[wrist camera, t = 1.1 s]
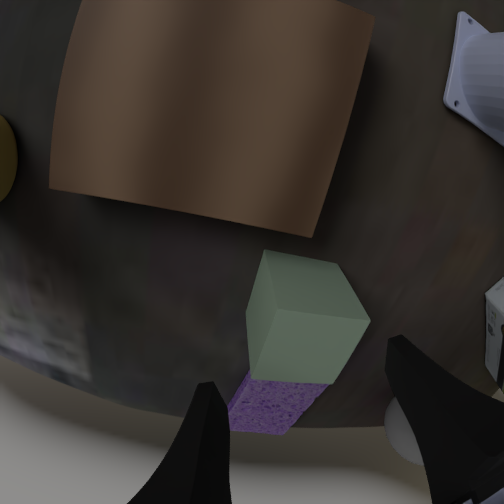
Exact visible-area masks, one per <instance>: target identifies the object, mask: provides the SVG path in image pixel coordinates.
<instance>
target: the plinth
mask: <svg viewBox="0 0 504 504" xmlns="http://www.w3.org/2000/svg"><path fill="white" fill-rule="evenodd" d="M374 22H375V17H374V16H372V15H370V14H368V13H366V12H363V11H361V10H359V9H356V8H354V7H352V6H349V5H347V4H344V3H342V2H339V1H336V0H82V3H81V6H80V8H79V11H78V14H77V18H76V21H75V24H74V27H73V31H72V34H71V38H70V41H69V45H68V49H67V53H66V57H65V61H64V65H63V70H62V75H61V80H60V85H59V90H58V96H57V102H56V109H55V116H54V124H53V132H52V143H51V155H50V172H49V189H55V190H61V191H67V192H74V193H80V194H86V195H92V196H98V197H104V198H109V199H115V200H121V201H127V202H132V203H138V204H143V205H149V206H154V207H160V208H165V209H170V210H176V211H181V212H186V213H192V214H197V215H202V216H207V217H212V218H217V219H222V220H227V221H232V222H237V223H242V224H247V225H252V226H257V227H262V228H267V229H271V230H276V231H281V232H286V233H290V234H295V235H300V236H304V237H309V238H312V236H313V233H314V230H315V227H316V224H317V221H318V218H319V215H320V212H321V209H322V206H323V203H324V200H325V197H326V194H327V191H328V188H329V185H330V182H331V178H332V175H333V172H334V169H335V166H336V162H337V159H338V156H339V153H340V149H341V146H342V143H343V139H344V136H345V133H346V129H347V126H348V122H349V119H350V115H351V112H352V108H353V105H354V101H355V97H356V94H357V90H358V86H359V82H360V79H361V75H362V71H363V67H364V63H365V59H366V55H367V51H368V47H369V43H370V39H371V35H372V30H373V26H374Z"/></svg>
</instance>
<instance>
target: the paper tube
mask: <svg viewBox="0 0 504 504" xmlns="http://www.w3.org/2000/svg"><path fill="white" fill-rule="evenodd" d="M17 165H18V151H17V144H16V139H15V136H14V133H13V131H12V128H11V127H10V125H9V123H8V122H7V121H6V120H5V119H4V118H3V117H2V116H1V115H0V202H1V201H2V200H3V199H4V198H5V197H6V196H7V194H8V193H9V191H10V189H11V187H12V185H13V182H14V179H15V176H16V171H17Z"/></svg>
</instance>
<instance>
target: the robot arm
mask: <svg viewBox="0 0 504 504" xmlns="http://www.w3.org/2000/svg"><path fill="white" fill-rule="evenodd" d="M468 21H469V22H468ZM469 23H470V24H469ZM443 101H444V104H445V105H446V106H447V107H448V108H450V109H451V110H453V111H454V112H456V113H457V114H459V115H460V116H462V117H463V118H465V119H466V120H468V121H469V122H471V123H472V124H474V125H475V126H476V127H478V128H479V129H481V130H482V131H483V132H485V133H486V134H487V135H489V136H490V137H491V138H493V139H494V140H495V141H496V142H498V143H499V144H500V145H501V146H503V147H504V32H500V33H489V32H488V31H487V30H486V29H485V28H484V27H482V26H481V25H480V24H479V23H478V22H476V21H475V20H474V19H473V18H472V17H470V16H469V15H468V14H466V13H465V12H459V13H458V16H457V25H456V32H455V39H454V46H453V52H452V58H451V64H450V69H449V74H448V79H447V84H446V88H445V93H444V97H443ZM454 102H456V106H455V105H454ZM385 372H386V375H387V378H388V380H389V383H390V386H391V388H392V391H393V393H394V395H395V397H396V399H397V401H398V403H399V405H400V407H401V409H402V410H403V412H404V414H405V416H406V418H407V420H408V422H409V424H410V426H411V428H412V431H413V433H414V435H415V438H416V441H417V444H418V447H419V450H420V453H421V456H422V460H423V463H424V467H425V470H426V475H427V478H428V483H429V487H430V493H431V499H432V504H504V402H501V401H499V400H496V399H494V398H492V397H490V396H487V395H485V394H483V393H481V392H479V391H477V390H475V389H474V388H472V387H470V386H468V385H467V384H465V383H463V382H462V381H460V380H459V379H457V378H456V377H454V376H453V375H451V374H450V373H448V372H447V371H446V370H444V369H443V368H442V367H440V366H439V365H438V364H437V363H435V362H434V361H433V360H431V359H430V358H429V357H428V356H426V355H425V354H424V353H423V352H422V351H420V350H419V349H418V348H417V347H416V346H415V345H413V344H412V343H411V342H410V341H409V340H408V339H407V338H405V337H404V336H403V335H398V336H395V337H392V338H389V339H388V346H387V355H386V364H385ZM229 452H230V424H229V415H228V407H227V406H226V404H225V402H224V400H223V398H222V397H221V395H220V393H219V391H218V389H217V387H216V386H215V384H214V382H213V381H212V382H206V383H199V384H198V385H197V388H196V391H195V393H194V396H193V399H192V401H191V404H190V406H189V409H188V411H187V414H186V416H185V418H184V420H183V423H182V425H181V427H180V429H179V431H178V433H177V435H176V437H175V439H174V441H173V443H172V445H171V447H170V449H169V450H168V452H167V454H166V455H165V457H164V459H163V460H162V462H161V463H160V465H159V466H158V468H157V469H156V471H155V472H154V473H153V475H152V476H151V478H150V479H149V480H148V481H147V482H146V484H145V485H144V486H143V487H142V488H141V489H140V491H139V492H138V493H137V494H136V495H135V496H134V497H133V498H132V499H131V500H130V501H129V502H128V503H127V504H232V502H231V492H230V483H229V455H230V453H229Z"/></svg>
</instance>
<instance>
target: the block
mask: <svg viewBox="0 0 504 504" xmlns="http://www.w3.org/2000/svg"><path fill="white" fill-rule="evenodd" d="M370 321H371V320H370V318H369V317H368V315H367V313H366V311H365V310H364V308H363V306H362V304H361V303H360V301H359V299H358V298H357V296H356V294H355V292H354V291H353V289H352V287H351V286H350V284H349V282H348V281H347V279H346V277H345V276H344V274H343V272H342V271H341V269H340V267H339V266H338V264H337V263H331V262H326V261H321V260H316V259H311V258H306V257H301V256H296V255H291V254H286V253H281V252H276V251H270V250H265V249H264V252H263V256H262V259H261V263H260V266H259V269H258V273H257V276H256V280H255V283H254V286H253V290H252V293H251V297H250V300H249V303H248V307H247V310H246V324H247V337H248V349H249V362H250V374H251V379H257V380H268V381H281V382H296V383H317V384H333V383H334V381H335V380H336V378H337V377H338V375H339V374H340V372H341V370H342V369H343V367H344V366H345V364H346V362H347V361H348V359H349V357H350V356H351V354H352V353H353V351H354V349H355V347H356V346H357V344H358V342H359V341H360V339H361V337H362V335H363V334H364V332H365V330H366V328H367V327H368V325H369V323H370Z"/></svg>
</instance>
